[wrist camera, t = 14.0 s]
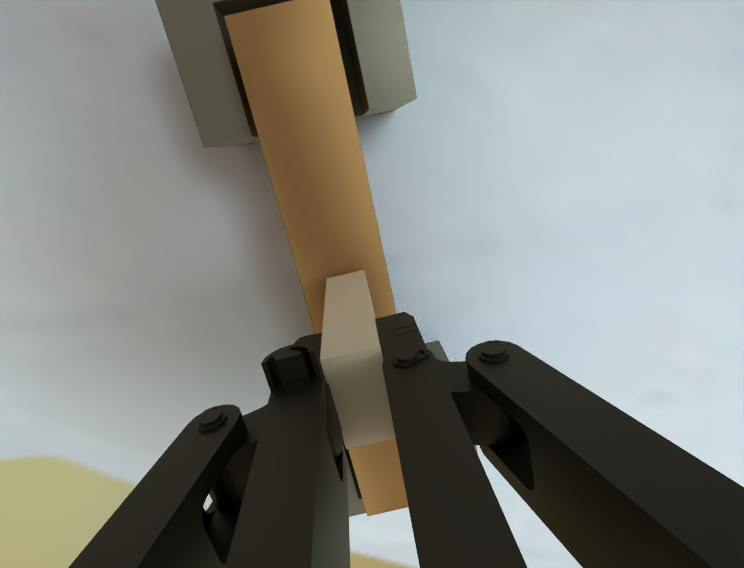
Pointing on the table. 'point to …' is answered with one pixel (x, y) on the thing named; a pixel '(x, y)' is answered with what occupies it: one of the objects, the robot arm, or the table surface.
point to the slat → (318, 179)
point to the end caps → (229, 99)
